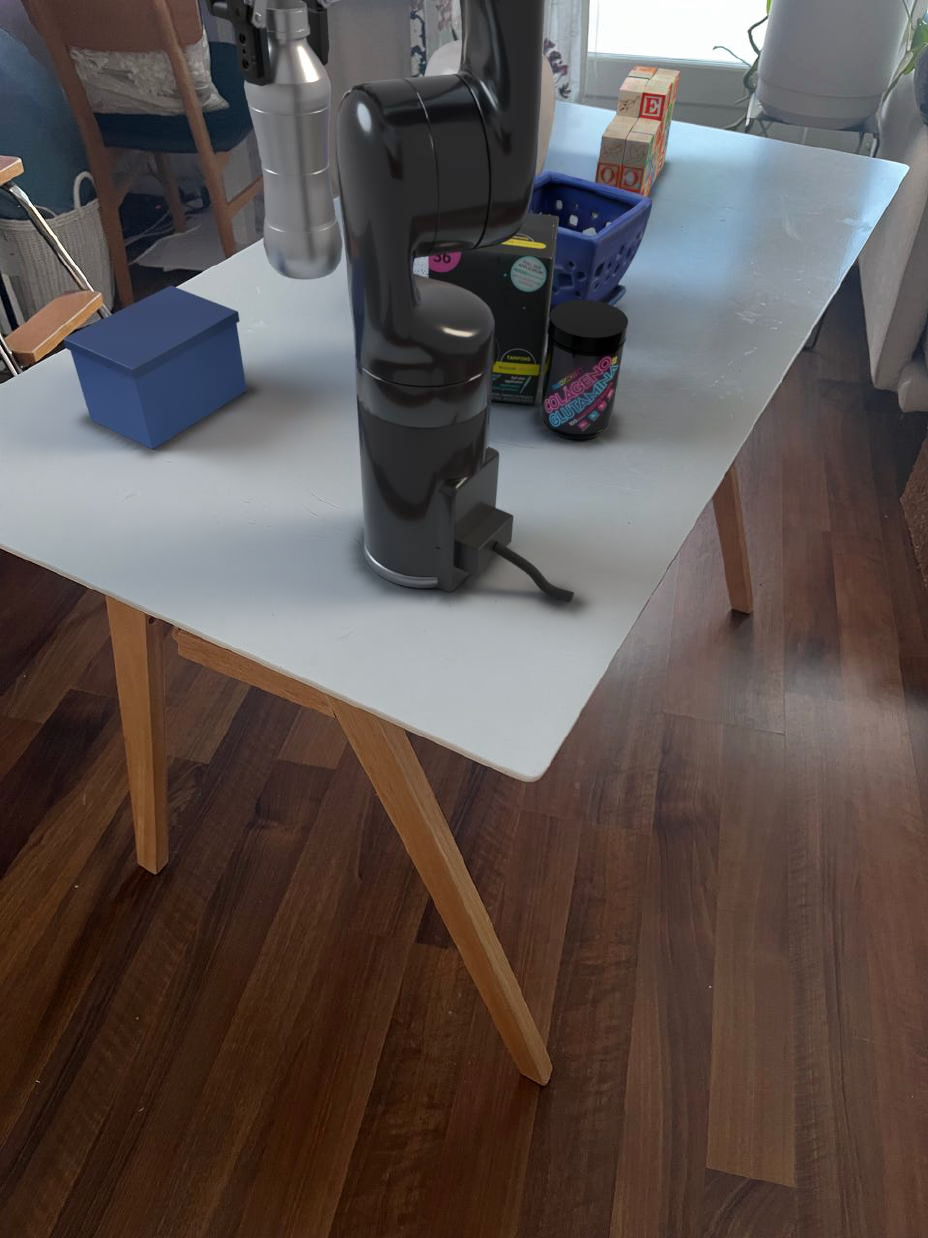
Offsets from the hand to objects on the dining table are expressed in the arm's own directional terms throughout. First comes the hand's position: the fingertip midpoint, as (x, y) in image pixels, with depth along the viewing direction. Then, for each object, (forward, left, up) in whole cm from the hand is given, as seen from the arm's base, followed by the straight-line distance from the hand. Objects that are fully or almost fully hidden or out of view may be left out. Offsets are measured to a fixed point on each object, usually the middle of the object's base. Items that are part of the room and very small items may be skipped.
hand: (287, 72), depth 70 cm
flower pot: (-11, -28, -27) cm, 41 cm away
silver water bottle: (0, 0, -16) cm, 16 cm away
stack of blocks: (-1, -66, -27) cm, 71 cm away
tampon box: (-12, -12, -27) cm, 32 cm away
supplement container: (-23, -10, -27) cm, 37 cm away
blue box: (+9, +10, -27) cm, 30 cm away
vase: (+9, -44, -27) cm, 53 cm away
